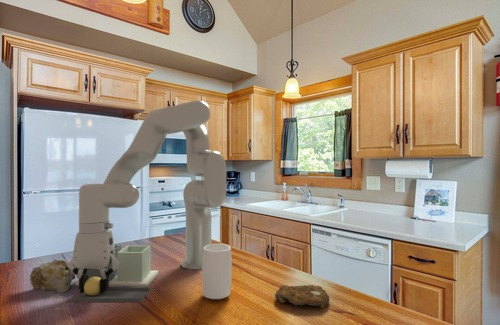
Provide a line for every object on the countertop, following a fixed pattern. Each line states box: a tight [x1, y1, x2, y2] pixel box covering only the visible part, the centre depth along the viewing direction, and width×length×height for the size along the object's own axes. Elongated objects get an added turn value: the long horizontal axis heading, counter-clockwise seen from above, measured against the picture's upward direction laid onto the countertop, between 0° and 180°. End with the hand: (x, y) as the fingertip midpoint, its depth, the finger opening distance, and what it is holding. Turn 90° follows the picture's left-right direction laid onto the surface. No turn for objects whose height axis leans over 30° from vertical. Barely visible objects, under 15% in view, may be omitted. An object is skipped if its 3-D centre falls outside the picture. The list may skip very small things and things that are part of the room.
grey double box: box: [74, 244, 159, 287], centre depth 95 cm, size 22×11×10 cm, turn 90°
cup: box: [201, 243, 233, 300], centre depth 84 cm, size 8×8×14 cm
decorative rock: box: [274, 284, 330, 309], centre depth 82 cm, size 11×4×15 cm
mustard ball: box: [84, 277, 101, 296], centre depth 84 cm, size 5×5×5 cm
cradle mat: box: [70, 286, 152, 303], centre depth 84 cm, size 19×8×1 cm, turn 90°
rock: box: [29, 258, 77, 293], centre depth 89 cm, size 12×7×10 cm, turn 75°
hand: (93, 290), depth 84 cm, fingers closed on mustard ball, 4 cm apart
